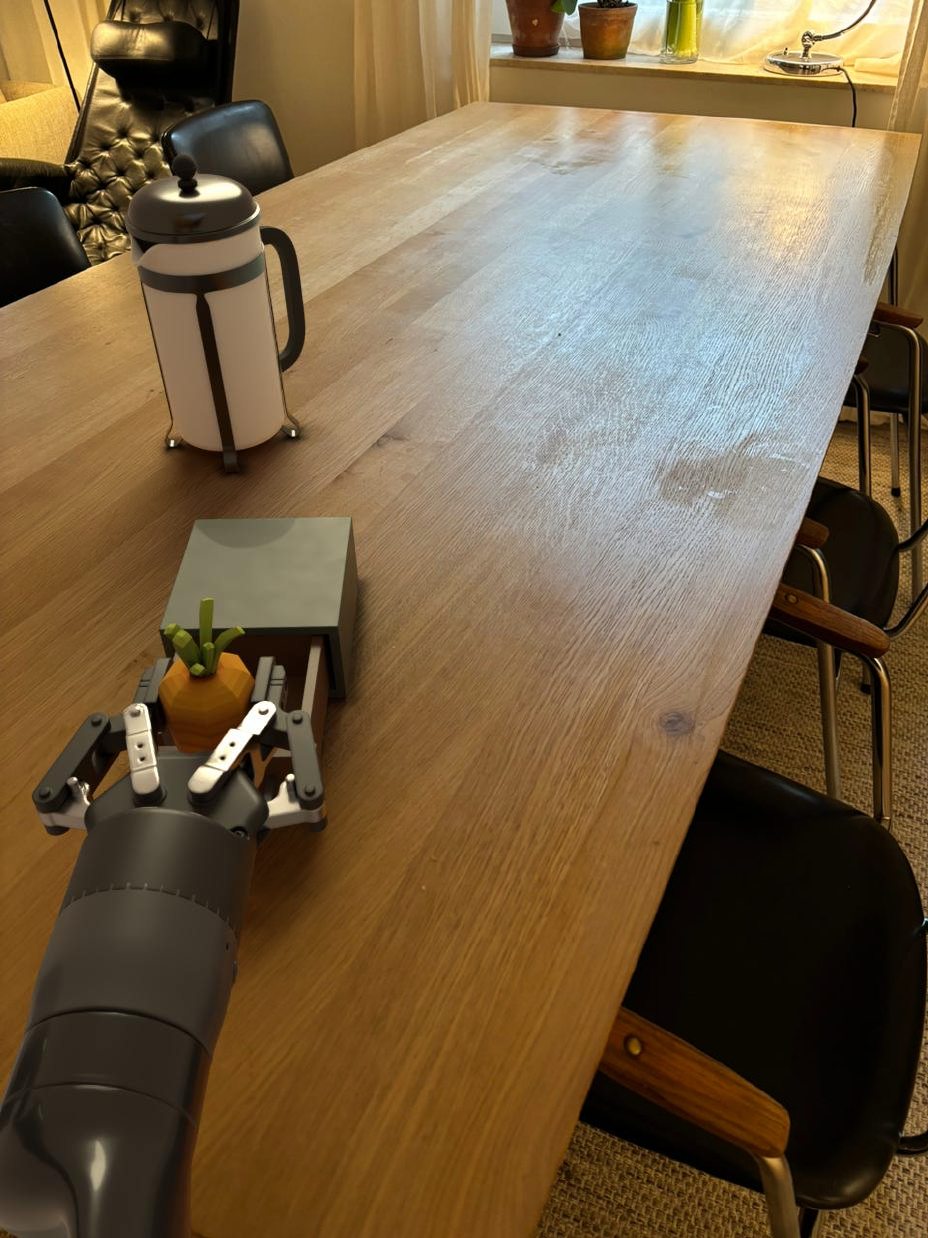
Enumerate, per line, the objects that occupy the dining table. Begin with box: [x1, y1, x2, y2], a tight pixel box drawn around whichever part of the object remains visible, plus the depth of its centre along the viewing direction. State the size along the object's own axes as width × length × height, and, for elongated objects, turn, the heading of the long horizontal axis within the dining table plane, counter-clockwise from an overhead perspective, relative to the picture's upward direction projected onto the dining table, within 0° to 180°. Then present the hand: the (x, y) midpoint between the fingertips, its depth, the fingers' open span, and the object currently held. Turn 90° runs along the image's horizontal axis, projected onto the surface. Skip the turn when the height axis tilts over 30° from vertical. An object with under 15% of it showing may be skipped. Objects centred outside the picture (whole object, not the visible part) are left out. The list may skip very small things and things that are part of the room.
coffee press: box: [123, 153, 307, 473], centre depth 102 cm, size 17×16×30 cm
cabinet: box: [158, 516, 360, 699], centre depth 83 cm, size 15×14×8 cm
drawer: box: [156, 634, 331, 833], centre depth 72 cm, size 18×12×6 cm
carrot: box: [158, 598, 255, 754], centre depth 53 cm, size 5×5×15 cm
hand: (218, 669), depth 54 cm, fingers closed on carrot, 5 cm apart
